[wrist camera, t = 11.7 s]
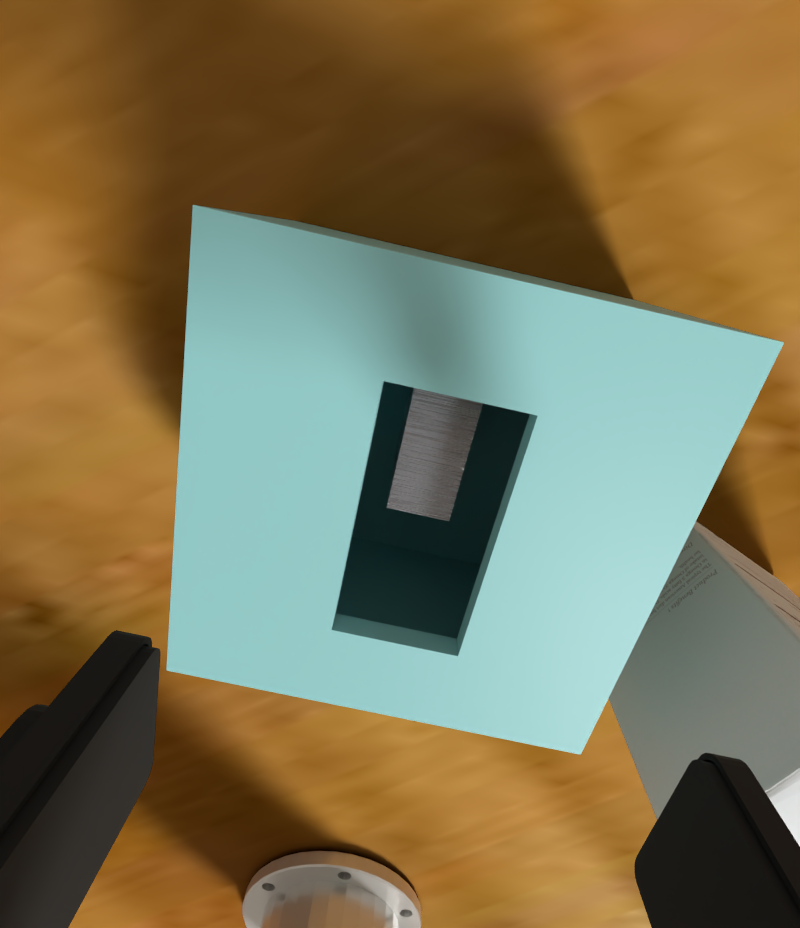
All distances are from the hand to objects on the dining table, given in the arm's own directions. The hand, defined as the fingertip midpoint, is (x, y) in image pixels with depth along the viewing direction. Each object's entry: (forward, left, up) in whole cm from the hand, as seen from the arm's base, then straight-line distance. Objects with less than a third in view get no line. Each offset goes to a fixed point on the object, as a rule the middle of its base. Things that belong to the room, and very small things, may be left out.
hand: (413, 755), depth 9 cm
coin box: (0, -1, -17) cm, 16 cm away
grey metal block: (+2, -4, -13) cm, 13 cm away
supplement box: (-15, -3, -17) cm, 22 cm away
